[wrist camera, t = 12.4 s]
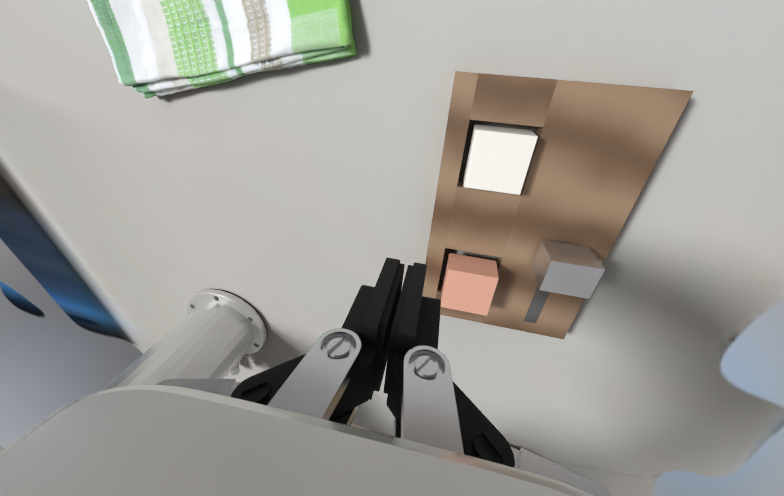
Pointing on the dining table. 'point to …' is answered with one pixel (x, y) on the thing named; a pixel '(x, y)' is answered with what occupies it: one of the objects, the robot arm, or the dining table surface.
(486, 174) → the cream button
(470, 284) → the terracotta button
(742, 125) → the dining table surface
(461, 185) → the switch board
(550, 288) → the slider knob
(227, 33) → the dish towel
